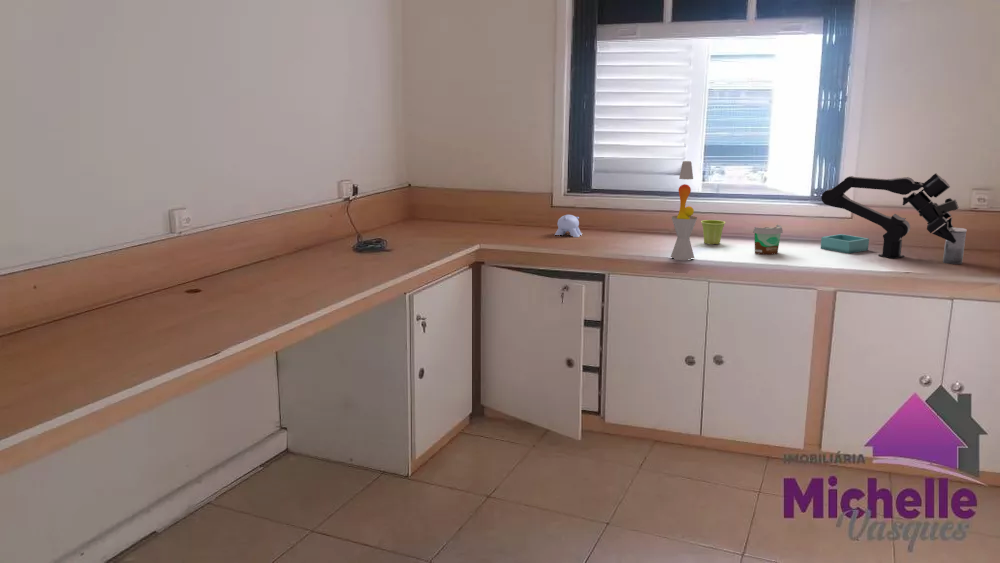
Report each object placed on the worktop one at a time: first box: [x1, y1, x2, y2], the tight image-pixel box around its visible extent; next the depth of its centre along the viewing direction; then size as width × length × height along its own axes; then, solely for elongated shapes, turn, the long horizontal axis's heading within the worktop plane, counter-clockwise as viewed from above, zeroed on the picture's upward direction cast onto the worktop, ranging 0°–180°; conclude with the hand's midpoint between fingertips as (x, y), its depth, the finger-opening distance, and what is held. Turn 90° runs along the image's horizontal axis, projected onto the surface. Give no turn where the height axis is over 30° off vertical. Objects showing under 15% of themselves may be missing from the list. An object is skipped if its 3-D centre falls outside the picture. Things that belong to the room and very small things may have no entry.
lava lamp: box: [670, 160, 698, 261], centre depth 290 cm, size 9×9×35 cm
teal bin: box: [820, 233, 870, 255], centre depth 308 cm, size 12×12×4 cm
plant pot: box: [700, 219, 726, 245], centre depth 321 cm, size 9×9×9 cm
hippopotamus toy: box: [554, 214, 583, 238], centre depth 342 cm, size 11×15×10 cm
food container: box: [752, 224, 784, 256], centre depth 300 cm, size 12×6×10 cm, turn 117°
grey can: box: [942, 226, 968, 265], centre depth 282 cm, size 6×6×12 cm
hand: (956, 240), depth 282 cm, fingers open, 9 cm apart
